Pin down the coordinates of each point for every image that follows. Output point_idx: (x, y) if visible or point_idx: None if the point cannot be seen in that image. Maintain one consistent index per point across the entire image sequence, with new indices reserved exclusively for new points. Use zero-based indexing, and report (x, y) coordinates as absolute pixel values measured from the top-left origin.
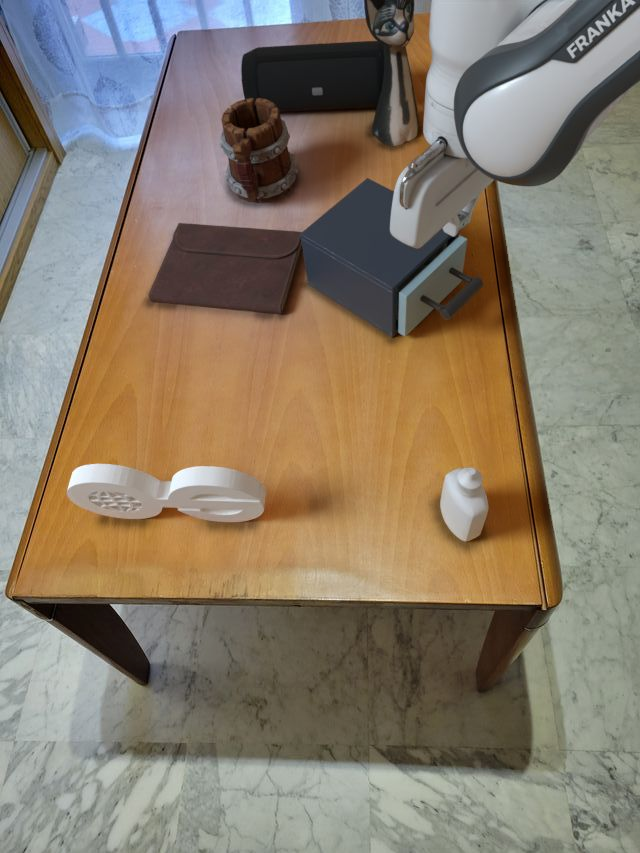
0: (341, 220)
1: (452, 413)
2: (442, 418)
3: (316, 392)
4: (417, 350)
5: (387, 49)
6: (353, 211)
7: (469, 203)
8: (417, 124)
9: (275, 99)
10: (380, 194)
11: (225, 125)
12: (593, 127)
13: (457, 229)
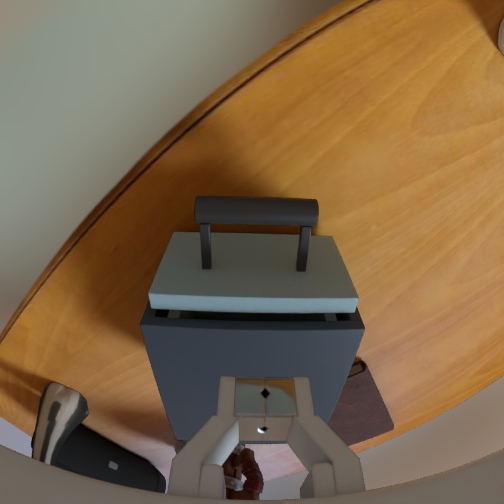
0: None
1: (409, 97)
2: (423, 107)
3: (448, 269)
4: (334, 205)
5: None
6: None
7: (221, 447)
8: (46, 390)
9: (146, 475)
10: (187, 424)
11: None
12: None
13: (302, 395)
